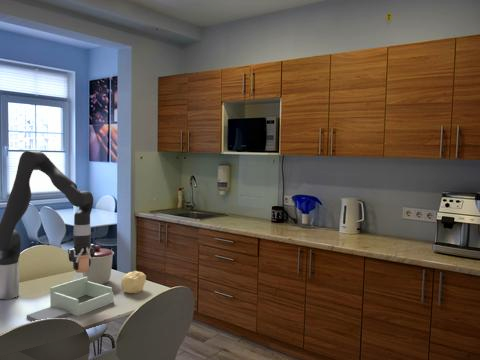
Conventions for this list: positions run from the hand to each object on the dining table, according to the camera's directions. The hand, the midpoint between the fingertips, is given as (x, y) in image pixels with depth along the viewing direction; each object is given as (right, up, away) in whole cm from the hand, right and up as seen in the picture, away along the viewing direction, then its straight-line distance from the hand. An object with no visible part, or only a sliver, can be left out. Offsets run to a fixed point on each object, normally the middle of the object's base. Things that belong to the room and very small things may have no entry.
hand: (82, 268), depth 191 cm
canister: (-5, -15, +33) cm, 37 cm away
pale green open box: (0, -17, +1) cm, 18 cm away
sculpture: (+19, -17, +20) cm, 32 cm away
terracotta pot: (0, -1, 0) cm, 1 cm away
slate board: (-10, -18, -14) cm, 25 cm away
